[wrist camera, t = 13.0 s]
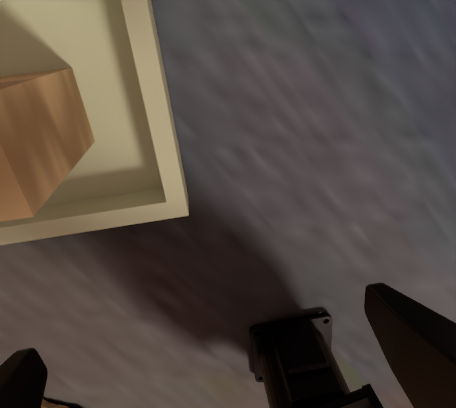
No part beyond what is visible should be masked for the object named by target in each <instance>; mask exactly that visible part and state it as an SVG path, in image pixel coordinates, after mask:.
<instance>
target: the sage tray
mask: <svg viewBox="0 0 456 408" xmlns="http://www.w3.org/2000/svg"><path fill="white" fill-rule="evenodd" d="M71 67H72V69H73V72H74V76H75V79H76V82H77V85H78V88H79V92H80V95H81V98H82V101H83V104H84V107H85V111H86V114H87V117H88V120H89V123H90V127H91V130H92V133H93V136H94V139H95V142H94V143H93V144H92V146H91V147H90V148H89V149H88V151H87V152H86V153H85V154H84V155H83V157H82V158H81V159H80V160H79V162H78V163H77V164H76V165H75V167H74V168H73V169H72V170H71V171H70V173H69V174H68V175H67V176H66V178H65V179H64V180H63V181H62V182H61V184H60V185H59V186H58V187H57V189H56V190H55V191H54V192H53V193H52V195H51V196H50V197H49V198H48V200H47V201H46V202H45V203H44V204H43V206H42V207H41V208H40V209H39V211H38V212H37V213H36V214H35V216H34V217H28V218H22V219H16V220H9V221H3V222H0V245H5V244H12V243H18V242H24V241H31V240H37V239H43V238H50V237H56V236H63V235H69V234H75V233H82V232H88V231H94V230H101V229H107V228H114V227H120V226H126V225H133V224H139V223H145V222H152V221H158V220H164V219H171V218H177V217H184V216H189V207H188V192H187V187H186V181H185V176H184V171H183V166H182V160H181V155H180V150H179V144H178V139H177V134H176V129H175V123H174V118H173V113H172V107H171V102H170V97H169V92H168V86H167V81H166V76H165V70H164V65H163V60H162V55H161V49H160V44H159V39H158V33H157V28H156V23H155V18H154V12H153V7H152V2H151V0H0V77H3V76H10V75H18V74H26V73H33V72H41V71H49V70H56V69H64V68H71Z"/></svg>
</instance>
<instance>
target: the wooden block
mask: <svg viewBox="0 0 456 408" xmlns="http://www.w3.org/2000/svg"><path fill="white" fill-rule="evenodd" d="M94 142H95V139H94V136H93V133H92V130H91V127H90V123H89V120H88V117H87V114H86V111H85V107H84V104H83V101H82V98H81V95H80V92H79V88H78V85H77V82H76V79H75V76H74V72H73V69H72V67H71V68H64V69H56V70H49V71H41V72H33V73H26V74H18V75H10V76H3V77H0V222H3V221H9V220H16V219H22V218H28V217H34V216H35V214H36V213H37V212H38V211H39V209H40V208H41V207H42V206H43V204H44V203H45V202H46V201H47V200H48V198H49V197H50V196H51V195H52V193H53V192H54V191H55V190H56V189H57V187H58V186H59V185H60V184H61V182H62V181H63V180H64V179H65V178H66V176H67V175H68V174H69V173H70V171H71V170H72V169H73V168H74V167H75V165H76V164H77V163H78V162H79V160H80V159H81V158H82V157H83V155H84V154H85V153H86V152H87V151H88V149H89V148H90V147H91V146H92V144H93V143H94Z"/></svg>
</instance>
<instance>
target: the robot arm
mask: <svg viewBox="0 0 456 408" xmlns="http://www.w3.org/2000/svg"><path fill="white" fill-rule="evenodd" d="M364 309H365V314H366V316H367V318H368V321H369V323H370V325H371V327H372V329H373V331H374V334H375V336H376V338H377V340H378V342H379V344H380V346H381V349H382V351H383V353H384V355H385V357H386V359H387V361H388V363H389V366H390V368H391V369H392V371H393V373H394V375H395V377H396V378H397V380H398V382H399V383H400V385H401V387H402V388H403V390H404V392H405V393H406V395H407V397H408V398H409V400H410V402H411V404H412V405H413V407H414V408H456V323H455V322H453V321H451V320H449V319H447V318H446V317H444V316H442V315H440V314H438V313H436V312H435V311H433V310H431V309H429V308H427V307H426V306H424V305H422V304H420V303H418V302H417V301H415V300H413V299H411V298H409V297H407V296H406V295H404V294H402V293H400V292H398V291H397V290H395V289H393V288H391V287H389V286H388V285H386V284H384V283H375V284H369V285H367V286H366V290H365V303H364ZM256 331H257V332H256ZM250 338H251V347H252V356H253V364H254V373H255V379H256V381H257V382H264V385H265V390H266V394H267V398H268V403H269V407H270V408H383V406H382V404H381V403H380V401H379V399H378V397H377V396H376V394H375V392H374V390H373V389H372V387H371V385H370V384H367V385H364V386H362V388H361V389H358V390H356V391H353V392H350V390H349V388H348V386H347V384H346V382H345V380H344V377H343V375H342V373H341V371H340V369H339V367H338V365H337V362H336V360H335V358H334V356H333V354H332V352H331V339H332V317H331V315H330V314H329V313H321V314H315V315H310V316H304V317H298V318H293V319H287V320H281V321H276V322H270V323H264V324H259V325H254V326H252V327H251V328H250ZM47 374H48V373H47V368H46V366H45V364H44V362H43V360H42V359H41V357H40V355H39V354H38V352H37V351H36V349H34V348H28V349H23V350H19V351H16V352H15V353H14V354H12V355H11V356H10V357H9V358H8V359H7V360H6V361H5V362H4V363H3V364H2V365H0V408H41V405H42V400H43V395H44V391H45V386H46V381H47Z"/></svg>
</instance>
